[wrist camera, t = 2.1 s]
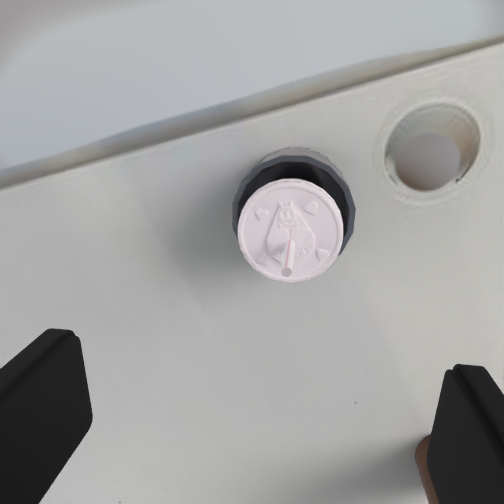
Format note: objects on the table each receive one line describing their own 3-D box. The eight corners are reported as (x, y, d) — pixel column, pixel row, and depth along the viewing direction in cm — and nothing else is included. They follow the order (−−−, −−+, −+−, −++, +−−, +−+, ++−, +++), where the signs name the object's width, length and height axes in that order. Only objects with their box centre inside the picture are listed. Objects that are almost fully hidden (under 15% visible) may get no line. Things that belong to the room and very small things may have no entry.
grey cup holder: (351, 148, 30) (361, 157, 25) (341, 249, 33) (348, 277, 27) (245, 146, 31) (232, 153, 26) (244, 244, 34) (232, 269, 28)
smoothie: (262, 241, 33) (232, 323, 20) (250, 166, 31) (209, 206, 18) (337, 232, 32) (357, 314, 19) (330, 155, 30) (346, 187, 17)
